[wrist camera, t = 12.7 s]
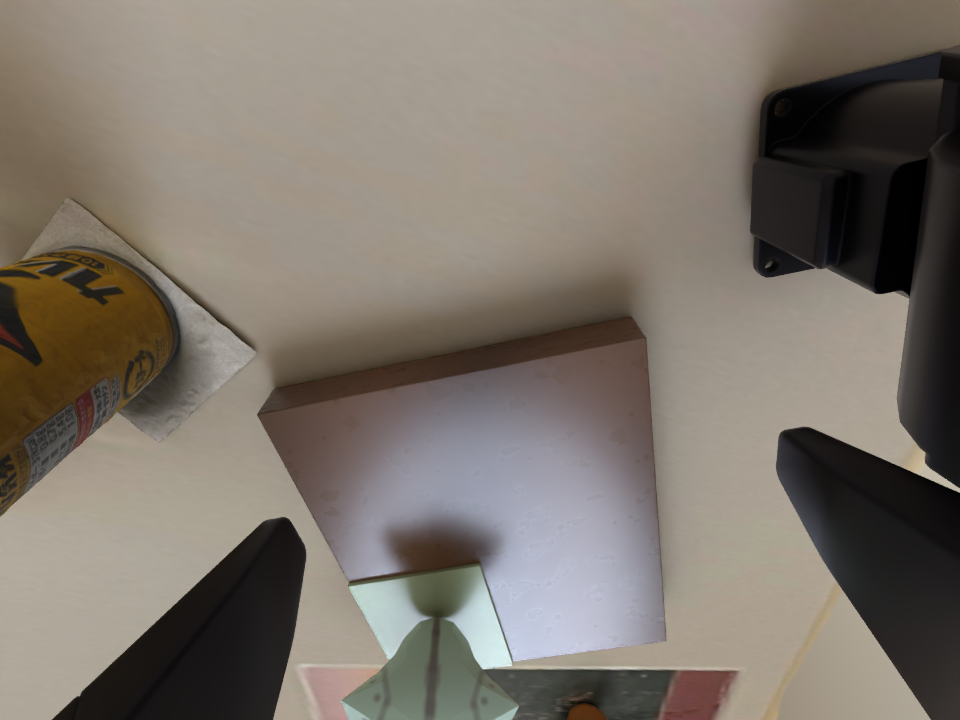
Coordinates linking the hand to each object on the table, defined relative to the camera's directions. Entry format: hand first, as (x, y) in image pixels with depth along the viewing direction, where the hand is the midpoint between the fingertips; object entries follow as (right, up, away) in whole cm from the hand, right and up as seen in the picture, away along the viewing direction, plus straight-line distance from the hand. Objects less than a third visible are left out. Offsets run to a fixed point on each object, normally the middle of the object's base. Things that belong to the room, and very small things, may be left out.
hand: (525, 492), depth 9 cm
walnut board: (0, -6, +17) cm, 18 cm away
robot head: (-3, -12, +18) cm, 22 cm away
